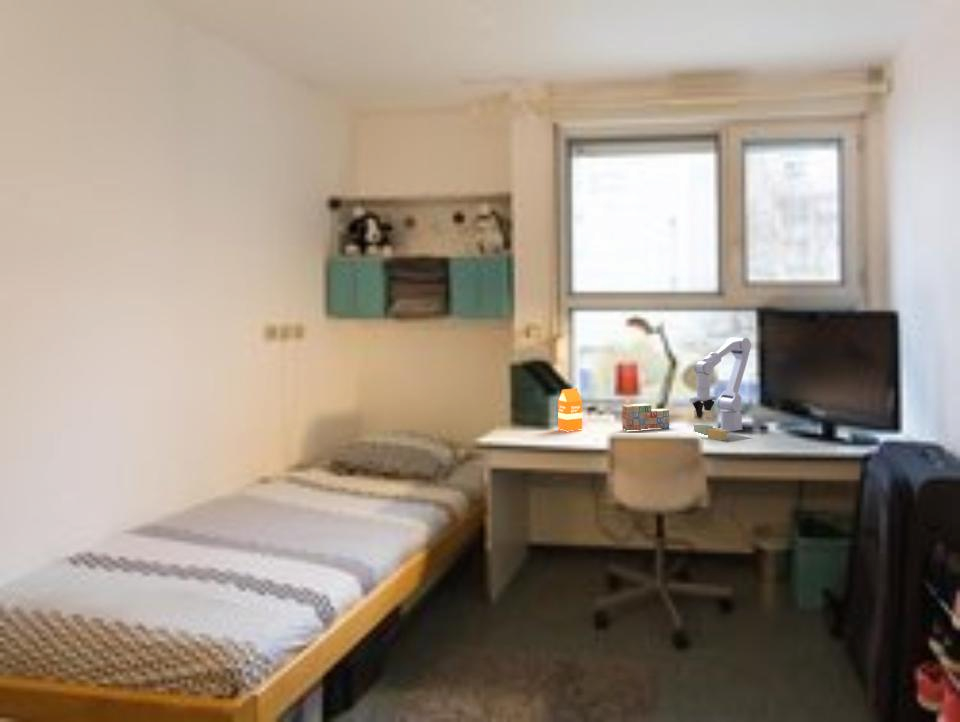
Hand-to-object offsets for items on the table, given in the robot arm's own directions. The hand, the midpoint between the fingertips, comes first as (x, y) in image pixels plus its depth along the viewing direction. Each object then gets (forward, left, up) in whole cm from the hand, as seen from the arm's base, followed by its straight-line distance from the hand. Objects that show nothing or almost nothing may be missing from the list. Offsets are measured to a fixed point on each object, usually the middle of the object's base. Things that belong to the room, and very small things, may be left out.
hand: (703, 416), depth 406 cm
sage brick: (0, 0, -8) cm, 8 cm away
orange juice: (+42, -46, -8) cm, 63 cm away
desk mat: (-2, +7, -8) cm, 11 cm away
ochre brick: (+3, +12, -8) cm, 15 cm away
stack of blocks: (+12, -26, -9) cm, 30 cm away
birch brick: (0, 0, -1) cm, 1 cm away
